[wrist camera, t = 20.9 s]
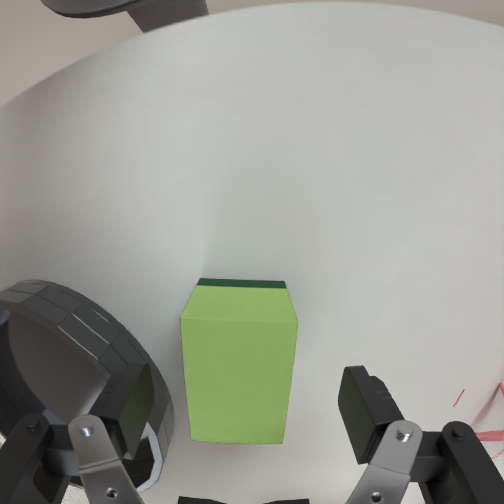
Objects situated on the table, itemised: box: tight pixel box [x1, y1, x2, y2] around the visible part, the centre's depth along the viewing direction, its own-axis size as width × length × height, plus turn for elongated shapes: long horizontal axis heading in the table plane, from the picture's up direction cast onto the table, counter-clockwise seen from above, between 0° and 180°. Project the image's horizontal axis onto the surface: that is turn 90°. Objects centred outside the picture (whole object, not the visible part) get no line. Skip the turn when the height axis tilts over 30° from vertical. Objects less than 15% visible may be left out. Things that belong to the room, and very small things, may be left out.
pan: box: [0, 280, 174, 493], centre depth 16 cm, size 17×17×4 cm
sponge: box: [180, 278, 298, 444], centre depth 15 cm, size 7×4×5 cm, turn 178°
